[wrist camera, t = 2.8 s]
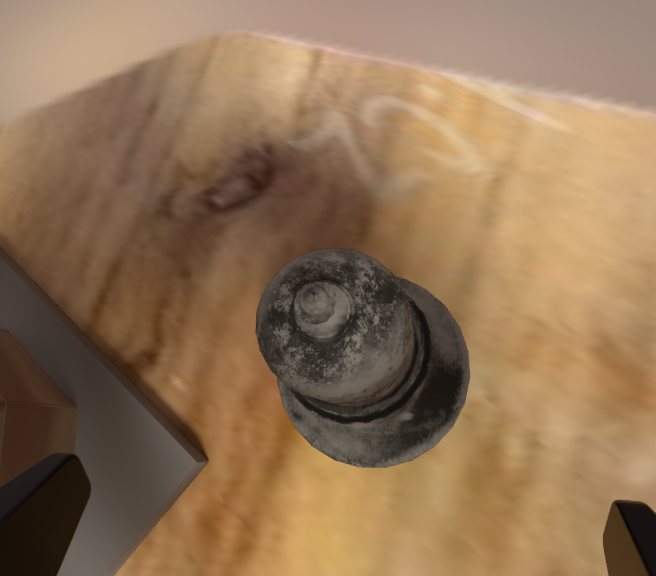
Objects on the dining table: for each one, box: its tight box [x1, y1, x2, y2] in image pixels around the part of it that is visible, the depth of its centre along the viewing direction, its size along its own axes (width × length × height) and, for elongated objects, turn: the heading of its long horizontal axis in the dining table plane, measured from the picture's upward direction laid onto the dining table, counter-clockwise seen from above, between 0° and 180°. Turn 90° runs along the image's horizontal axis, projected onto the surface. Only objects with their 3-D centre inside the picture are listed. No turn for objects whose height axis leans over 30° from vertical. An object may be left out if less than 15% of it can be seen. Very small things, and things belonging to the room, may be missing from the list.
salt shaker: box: [256, 248, 470, 468], centre depth 13 cm, size 6×6×12 cm
